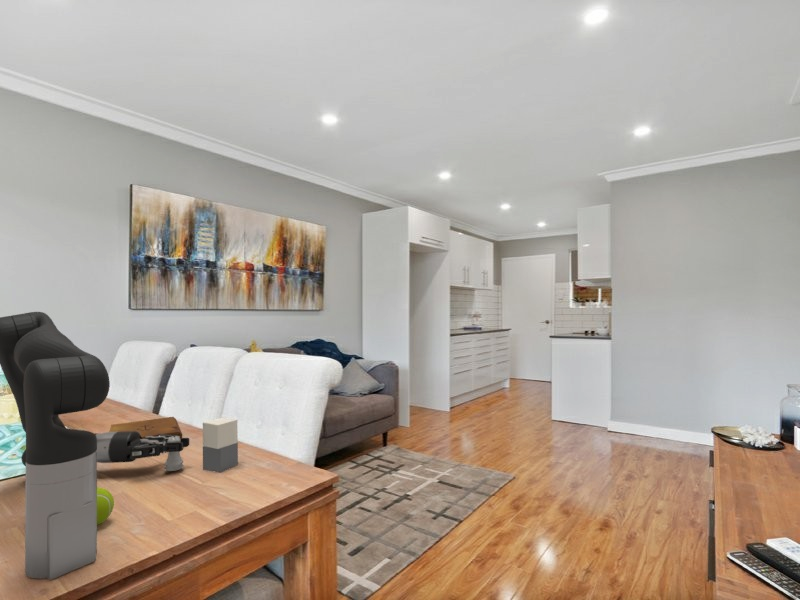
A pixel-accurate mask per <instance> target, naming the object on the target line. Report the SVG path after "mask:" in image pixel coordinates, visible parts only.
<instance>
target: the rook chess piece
mask: <svg viewBox="0 0 800 600" xmlns="http://www.w3.org/2000/svg"><path fill="white" fill-rule="evenodd" d="M180 441H181V439H180V436H178V437H177V436H175V438H174V436H171V437H169V438H168V441H167V443H168V442H180ZM180 452H181V451H180ZM180 452H167V453H168V456H167V458H166V460H165V462H164V468H163V469H164V470H165V471H166V472H175V471H179V470H181V469H182V468H183V467H184V464H183V463H184V460H183V459H182V457H181V453H180Z"/></svg>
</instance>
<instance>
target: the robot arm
mask: <svg viewBox="0 0 800 600" xmlns="http://www.w3.org/2000/svg"><path fill="white" fill-rule="evenodd" d="M0 367H1V370H2V373H3V375H4V377H5V379H6V382H7V384H8V386H9V388H10V390H11V393H12V395H13V397H14V400H15V403H16V406H17V410H18V414H19V415H18V416H19V419H20V422H21V426H22V429H23V431H24V433H25V449H24V451H23V452H22V455H21V462H22V464H23V466H25V487H24V488H25V492H24V493H25V499H24V500H25V501H24V505H25V506H24V507H25V508H24V509H25V510H24V512H25V513H24V514H25V515H24V516H25V517H24V522H25V524H24V539H25V540H24V549H25V550H24V574H25V573H26V574H25V575H26V576H27V577H28V578H30V577H31V579H47V580H50V581H51V580H54V579H56V578H58V577H61V576H63V575H65V574H67V573H70V572H72V571H75V570H78V569H79V568H82V567H84V566H86V565H88V564H89V565H90V564H91V563H93V562H95V561H97V552H98V539H97V538H98V525H97V487H98V484H97V482H98V477H97V476H98V469H97V468H98V463H99V464H111V463H114V464H115V463H132V462H134V461H135V460H137V459H143V458H151V457H158V456H161V455H164V454H166V453H169V452H182V451H183V450H184V448H187V447H189V446H190V438H189V437H182V438H180V439H181V441H180V442H168V443H167V441H168V438H169V437H171V436H174V438H175V435H166V434H157V435H156V437H153V436H147V437H145V438H144V439H143V438H142V437H141V436H140V434H139V432H137V431H121V432H110V431H105V432H99V433H94V432H92V431H89V430H83V429H74V428H73V429H72V428H67V427H66V426H65V424H64V423H63V421H62V419H61V418H60V415H65V414H72V413H79V412H84V411H88V410H89V411H90V410H92V409H95V408H97V407H99V406H101V405H102V404H103V403H104V401H105V400H106V399H107V397H108V394H109V392H110V386H111V384H110V376H109V373H108V370H107V367H106V366H105V364H104V363H103V362H102V360H101V359H100V358H98V357H97V356H96V355H93V354H91V353H89V352H86V351H84V350H82V349H80V348H79V347H78V346H77V345H75V344H74V342H73V341H72V340H71V339H70V338H68V337H67V336H66V335H65V334H63V333H62V332H61V331H60V330H59V329H58V327H57V326H56V325H55V323H54V321H53V319H52V318H51V317H50V316H49V315H48V314H47V313H45V312H42V311H30V312H24V313H19V314H12V315H8V316H7V315H6V316H1V317H0ZM152 451H153V452H152Z"/></svg>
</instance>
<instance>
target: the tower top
mask: <svg viewBox="0 0 800 600" xmlns="http://www.w3.org/2000/svg"><path fill="white" fill-rule="evenodd" d="M238 440H239V439H238V419H235V418H229V417H228V418H227V417H222V416H221V417H220V418H216V419H211V420H207V421H203V422H202V447H203V446H206V447H211V448H215V449H220V448H223V447H226V446H229V445H232V444H235V443H238ZM238 444H239V443H238Z"/></svg>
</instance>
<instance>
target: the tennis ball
mask: <svg viewBox="0 0 800 600" xmlns="http://www.w3.org/2000/svg"><path fill="white" fill-rule="evenodd" d="M114 507H115V499H114V497H113V494H112V492H110V491H109V490H107V489H106V488H103V487H98V486H97V526H99V525H100V524H102V523H103V522H105V521H106V520H107V519H108V518H109V517H110V515H111V514H112V512H113V510H114Z"/></svg>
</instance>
